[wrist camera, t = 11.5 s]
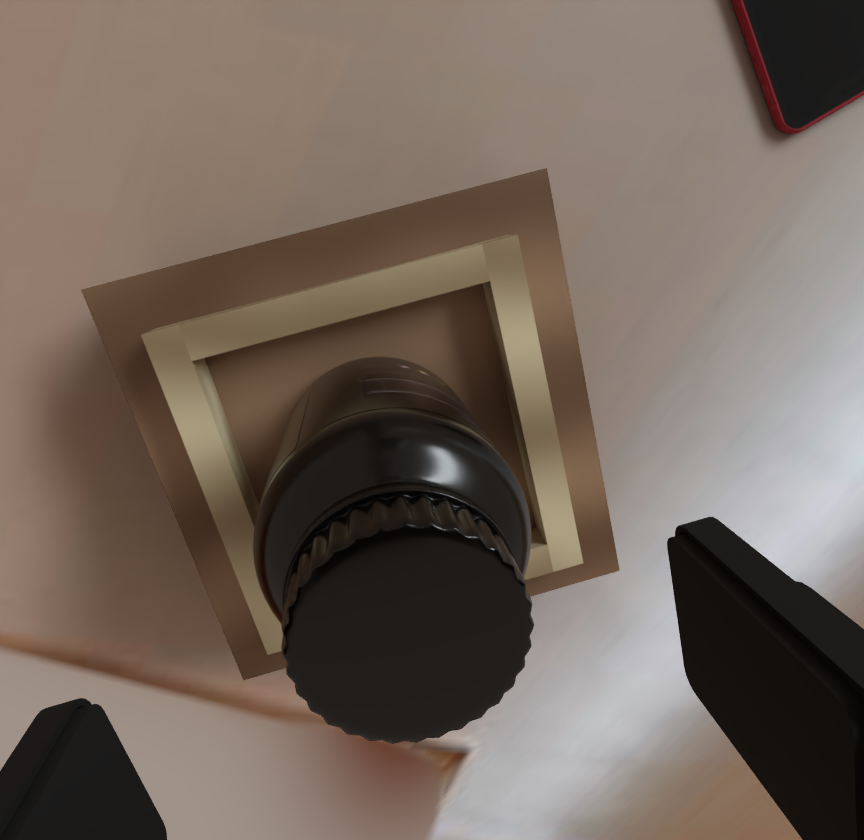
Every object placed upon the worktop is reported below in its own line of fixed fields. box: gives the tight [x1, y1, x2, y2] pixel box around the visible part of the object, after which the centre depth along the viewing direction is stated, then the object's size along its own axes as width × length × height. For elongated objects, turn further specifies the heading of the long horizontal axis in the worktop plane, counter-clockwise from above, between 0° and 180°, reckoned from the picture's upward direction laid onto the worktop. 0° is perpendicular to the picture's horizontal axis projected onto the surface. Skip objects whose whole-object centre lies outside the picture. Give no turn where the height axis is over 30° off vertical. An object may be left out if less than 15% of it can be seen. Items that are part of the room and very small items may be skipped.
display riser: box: [82, 168, 619, 680], centre depth 25 cm, size 16×16×8 cm
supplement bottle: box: [253, 357, 534, 744], centre depth 17 cm, size 7×7×12 cm
